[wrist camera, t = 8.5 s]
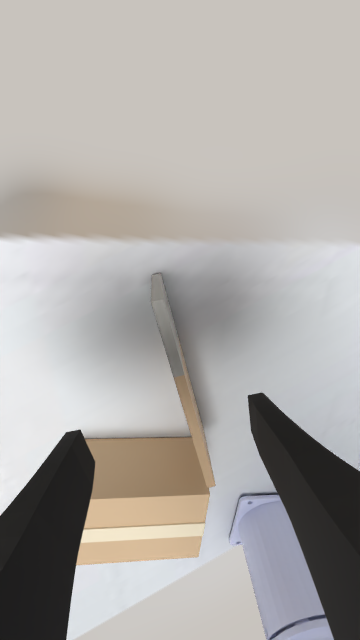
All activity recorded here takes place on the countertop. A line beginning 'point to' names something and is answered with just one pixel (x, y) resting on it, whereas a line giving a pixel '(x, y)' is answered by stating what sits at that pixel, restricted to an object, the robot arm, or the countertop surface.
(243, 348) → the countertop surface
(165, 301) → the flap
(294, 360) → the countertop surface
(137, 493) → the carton
